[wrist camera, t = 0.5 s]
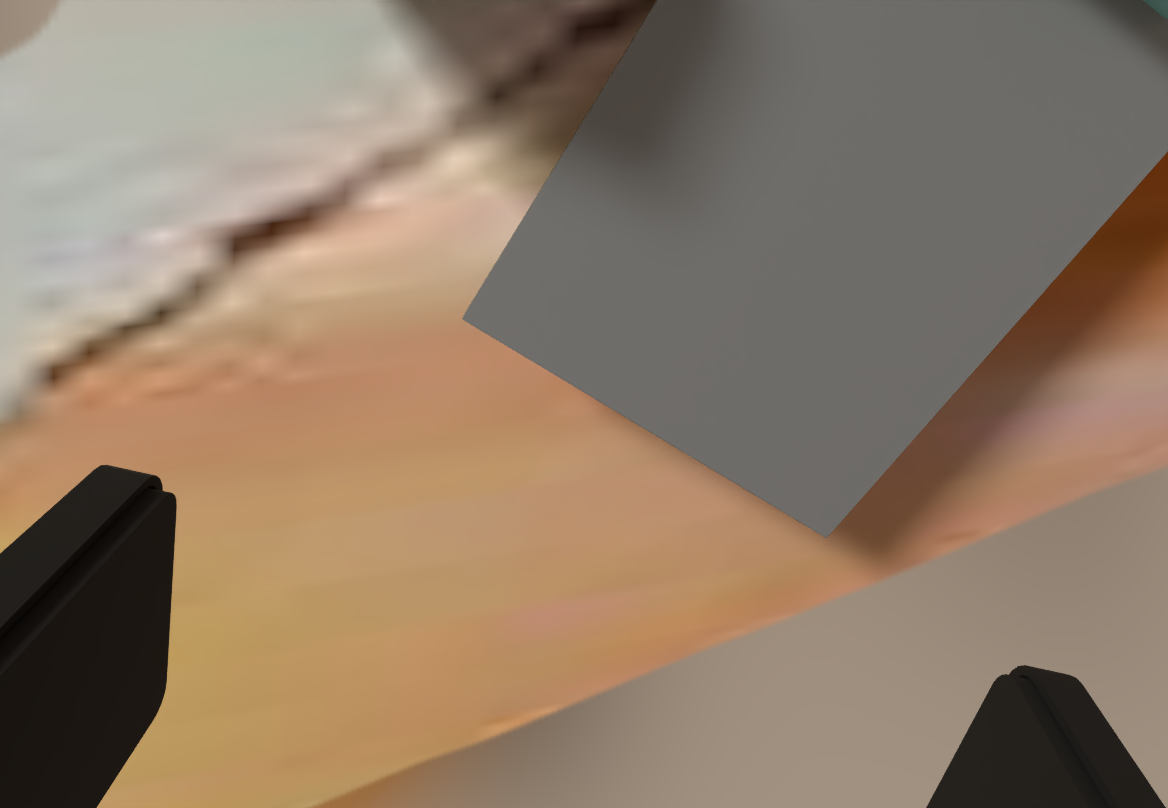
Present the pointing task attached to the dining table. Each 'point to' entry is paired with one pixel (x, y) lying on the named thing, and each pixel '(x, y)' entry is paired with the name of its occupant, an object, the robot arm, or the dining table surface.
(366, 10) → the dining table surface
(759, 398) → the lid
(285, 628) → the dining table surface
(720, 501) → the dining table surface
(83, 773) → the robot arm
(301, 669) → the dining table surface
